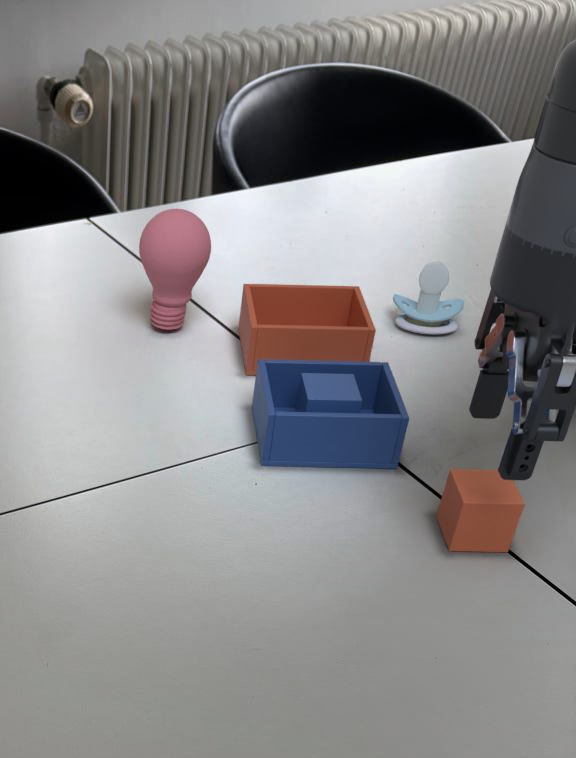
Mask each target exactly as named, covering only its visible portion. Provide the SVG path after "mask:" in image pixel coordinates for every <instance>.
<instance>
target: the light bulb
mask: <svg viewBox="0 0 576 758" xmlns="http://www.w3.org/2000/svg"><path fill="white" fill-rule="evenodd" d="M139 238H140V239H139V243H138V244H139V245H138V253H139V258H140V261H141V265H142V267H143V269H144V272H145V274H146V276H147V278H148V280H149V282H150V284H151V287H152V292H151V296H152V299H153V301H152V302H151V304H150V313H149V316H150V317H149V318H150V323H151V324H152V325H153V326H154V327H156V328H158V329H162V330H169V331H170V330H177V329H180V328H181V327H182V326H183V325H184V323H185V316H186V314H187V304H188V303H190V301H191V299H192V297H193V293H192V291H193V289H194V287H195V286H196V284H197V283H198V281H199V279H200V278H201V276H202V274H203V273H204V271H205V269H206V267H207V265H208V263H209V262H210V258H211V253H212V240H211V234H210V231H209V229H208V228H207V226H206V224H205V223H204V221H203V219H201V218H200V217H199V216H198V215H196V213H194V212H192V211H190V210H187V209H184V208H170V209H166V210H162V211H160V212H159V213H157V214H155V215H154V216H153V217H152V218H151V219H149V220H148V221H147V223H146V225H145V226H144V228H143V230H142V232H141V234H140V237H139Z"/></svg>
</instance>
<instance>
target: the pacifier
mask: <svg viewBox="0 0 576 758" xmlns="http://www.w3.org/2000/svg"><path fill="white" fill-rule="evenodd" d="M449 281H450V270H449V268H448V267H447V265H446V264H445V263H443V262H441V261H431V262H428V263H427V264H426V265H425V266H424V267H423V268H422V270H421V271H420V273H419V277H418V285H419V289H420V292H419V294H418V298H417V300H414V299H411V298H409V297H407V296H404V295H402V294H396V293H394V294H393V295H392V301H393V303H394V305H395V306H396V308H398V310H399V311H401V313H402V314H401V315H398V316H397V317H396V318H395V319H394V323H395V324H396V325H397V326H398V327H399V328H401V329H403V330H405V331H408V332H411V333H416V334H423V335H433V336H435V335H446V334H451V333H453V332H455V331H456V330H458V329H459V328H458V327H459V325H458V323H457V322H456V321H455V320H453V318H455V317H456V316H458V315H459V314H460V313H461V312H462V311H463V309H464V308H465V304H466V302H465V300H464V299H462V298H448V299H443V300H441V295H442V292H443V291H445V289H446V288H447V286H448V284H449ZM442 324H444V325H442ZM441 325H442V326H441Z"/></svg>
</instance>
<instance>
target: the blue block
mask: <svg viewBox="0 0 576 758" xmlns="http://www.w3.org/2000/svg"><path fill="white" fill-rule="evenodd" d="M361 404H362V398H361V395H360V392H359V389H358V386H357V383H356V380H355V377H354V374H326V373H301V378H300V384H299V391H298V397H297V403H296V409H295V412H317V413H360V409H361Z"/></svg>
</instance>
